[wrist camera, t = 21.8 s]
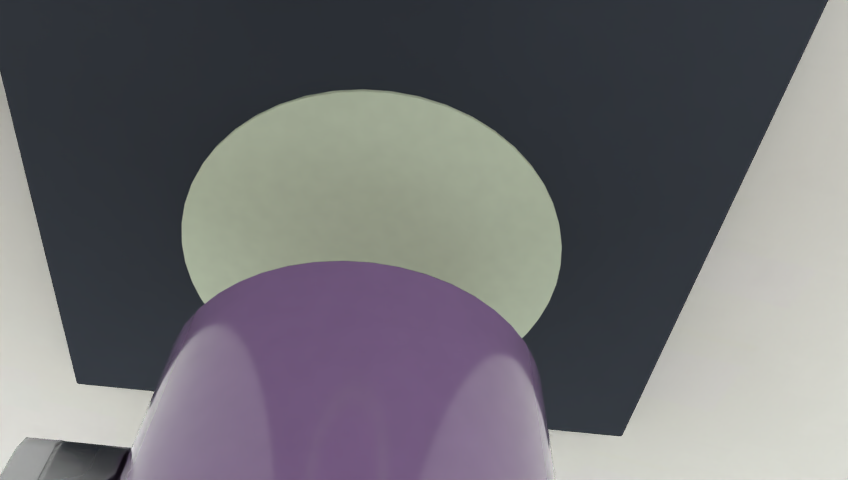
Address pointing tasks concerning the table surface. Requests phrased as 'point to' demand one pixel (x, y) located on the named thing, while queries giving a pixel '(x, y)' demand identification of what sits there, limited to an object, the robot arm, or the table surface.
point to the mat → (395, 161)
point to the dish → (345, 384)
